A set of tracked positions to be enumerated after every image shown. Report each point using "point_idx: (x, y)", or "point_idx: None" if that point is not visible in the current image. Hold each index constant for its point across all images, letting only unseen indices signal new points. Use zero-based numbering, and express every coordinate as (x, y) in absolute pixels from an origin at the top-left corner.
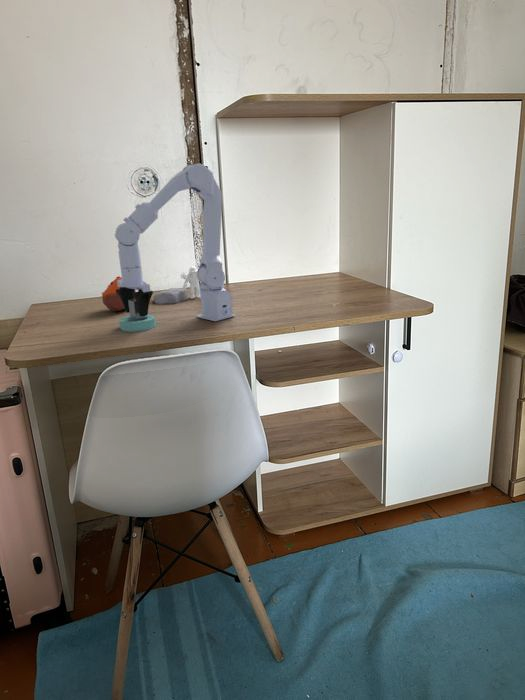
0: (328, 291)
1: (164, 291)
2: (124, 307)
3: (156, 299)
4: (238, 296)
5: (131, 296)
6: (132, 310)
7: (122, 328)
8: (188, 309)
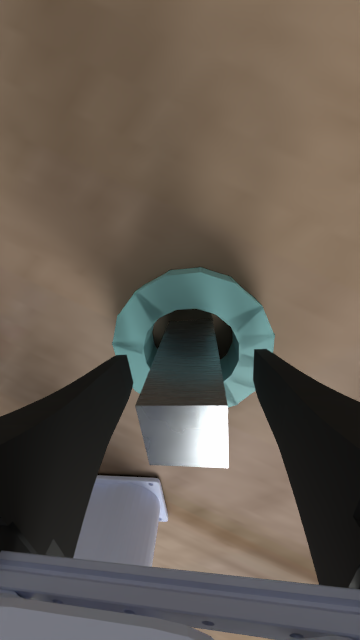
0: None
1: None
2: (280, 359)
3: None
4: None
5: (291, 467)
6: (182, 360)
7: (187, 269)
8: (258, 508)
